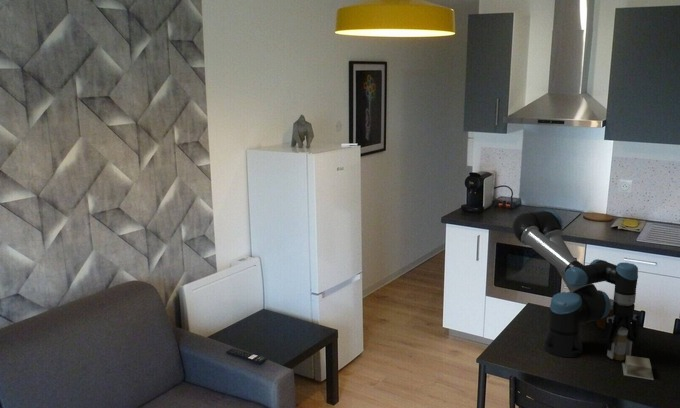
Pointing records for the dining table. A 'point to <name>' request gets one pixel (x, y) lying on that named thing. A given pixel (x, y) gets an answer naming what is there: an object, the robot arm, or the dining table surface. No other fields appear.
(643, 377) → the plate
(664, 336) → the dining table surface
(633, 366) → the beech block
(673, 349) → the dining table surface
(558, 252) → the robot arm
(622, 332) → the sprinkles bottle
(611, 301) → the disposable coffee cup
